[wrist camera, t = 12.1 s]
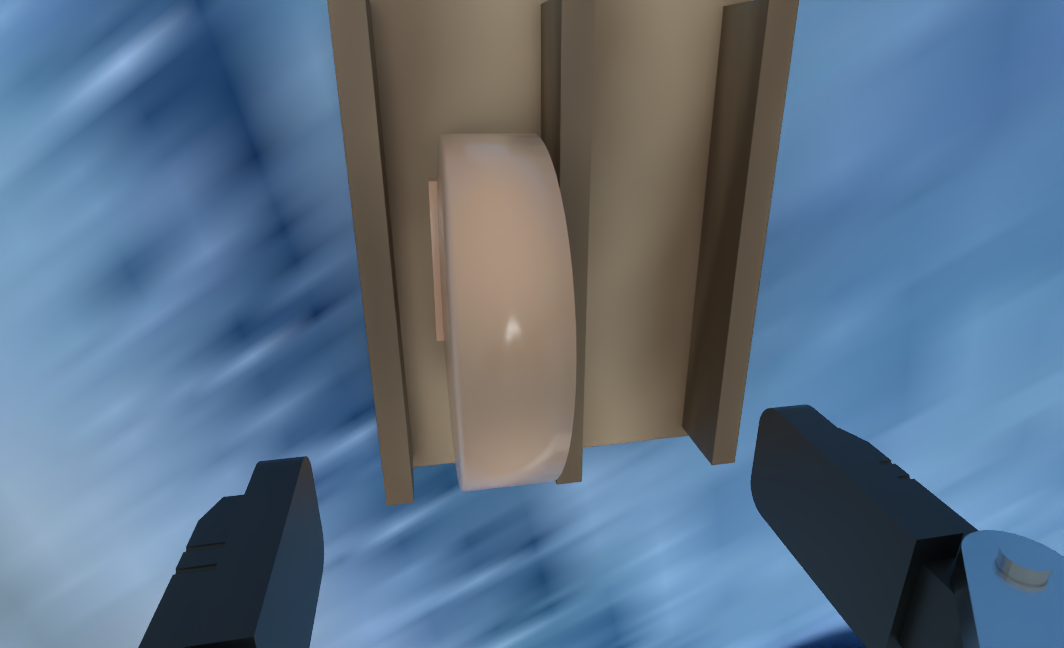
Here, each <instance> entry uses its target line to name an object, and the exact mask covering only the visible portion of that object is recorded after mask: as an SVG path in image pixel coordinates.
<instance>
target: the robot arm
mask: <svg viewBox="0 0 1064 648" xmlns="http://www.w3.org/2000/svg"><path fill="white" fill-rule="evenodd" d="M751 491H752V496H753V500H754V503H755V505H756V508H757V510H758V511H759V513H760V514H761V516H762V517H763V518H764V520H765V521H766V522H767V523H768V525H769V526H770V527H771V528H772V530H773V531H774V532H775V533H776V535H777V536H778V537H779V538H780V540H781V541H782V542H783V543H784V545H785V546H786V547H787V549H788V550H789V551H790V552H791V554H792V555H793V556H794V557H795V559H796V560H797V561H798V562H799V564H800V565H801V566H802V567H803V569H804V570H805V571H806V572H807V574H808V575H809V576H810V578H811V579H812V580H813V581H814V583H815V584H816V585H817V586H818V588H819V589H820V590H821V591H822V593H823V594H824V595H825V596H826V598H827V599H828V600H829V601H830V603H831V604H832V605H833V607H834V608H835V609H836V610H837V612H838V613H839V614H840V615H841V617H842V618H843V619H844V620H845V622H846V623H847V624H848V625H849V627H850V628H851V629H852V630H853V632H854V633H855V634H856V636H857V637H858V638H859V639H860V641H861V642H862V643H863V644H864V646H865V647H866V648H1064V556H1062V555H1060V554H1059V553H1057V552H1056V551H1054V550H1052V549H1050V548H1049V547H1047V546H1045V545H1043V544H1041V543H1038V542H1036V541H1034V540H1031V539H1028V538H1026V537H1023V536H1020V535H1016V534H1013V533H1008V532H1003V531H995V530H983V531H978V530H977V529H976V528H974V527H973V526H972V525H971V524H970V523H968V522H967V521H966V520H965V519H963V518H962V517H961V516H960V515H958V514H957V513H956V512H955V511H953V510H952V509H951V508H950V507H948V506H947V505H946V504H945V503H943V502H942V501H941V500H940V499H938V498H937V497H936V496H935V495H934V494H932V493H931V492H930V491H929V490H927V489H926V488H925V487H924V486H922V485H921V484H920V483H919V482H917V481H916V480H915V479H910V477H909V474H907V473H906V472H905V471H904V470H902V469H901V468H900V467H899V466H898V465H896V464H892V463H891V460H890V459H889V458H888V457H886V456H885V455H884V454H883V453H881V452H880V451H879V450H878V449H876V448H875V447H874V446H873V445H871V444H870V443H869V442H867V441H865V440H863V439H861V438H859V437H857V436H855V435H853V434H851V433H849V432H846V431H844V430H842V429H840V428H837V427H836V426H835V425H833V424H832V423H831V422H830V421H829V420H827V419H826V418H825V417H824V416H823V415H821V414H820V413H819V412H818V411H817V410H815V409H814V408H813V407H811V406H809V405H796V406H787V407H777V408H769V409H766V410H765V411H764V412H763V413H762V415H761V417H760V421H759V427H758V434H757V441H756V447H755V454H754V461H753V468H752V474H751ZM323 564H324V542H323V532H322V526H321V520H320V514H319V508H318V502H317V496H316V491H315V485H314V479H313V473H312V468H311V464H310V461H309V458H308V457H306V456H305V457H296V458H286V459H277V460H267V461H259V462H258V463H257V465H256V467H255V469H254V472H253V474H252V477H251V479H250V482H249V484H248V487H247V489H246V492H245V494H244V495H237V496H228V497H223V498H222V499H221V500H220V501H219V502H218V503H217V504H216V505H215V506H213V507H212V508H211V509H210V510H209V511H208V512H207V513H206V514H205V515H204V516H203V517H202V518H201V519H200V520H199V521H198V523H197V525H196V527H195V529H194V532H193V534H192V536H191V538H190V540H189V542H188V544H187V546H186V552H184V553H183V555H182V557H181V559H180V561H179V563H178V565H177V567H176V574H175V575H173V576H172V578H171V580H170V582H169V584H168V586H167V588H166V591H165V593H164V595H163V597H162V599H161V601H160V603H159V605H158V607H157V609H156V612H155V614H154V616H153V618H152V620H151V622H150V624H149V626H148V628H147V631H146V633H145V635H144V637H143V639H142V641H141V643H140V645H139V647H138V648H309V646H310V641H311V635H312V630H313V624H314V618H315V613H316V607H317V601H318V596H319V590H320V584H321V579H322V573H323Z"/></svg>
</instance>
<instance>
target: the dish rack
mask: <svg viewBox="0 0 1064 648" xmlns="http://www.w3.org/2000/svg"><path fill="white" fill-rule="evenodd" d="M327 2H328V11H329V19H330V28H331V36H332V45H333V53H334V62H335V70H336V79H337V87H338V96H339V104H340V113H341V121H342V130H343V138H344V147H345V155H346V164H347V172H348V181H349V190H350V198H351V207H352V215H353V224H354V232H355V241H356V249H357V258H358V266H359V275H360V283H361V292H362V300H363V309H364V317H365V326H366V334H367V343H368V351H369V360H370V368H371V377H372V385H373V394H374V402H375V411H376V419H377V428H378V436H379V445H380V453H381V462H382V471H383V479H384V488H385V496H386V505H387V506H389V505H397V504H405V503H413V502H414V485H413V467H419V466H428V465H437V464H445V463H454V462H455V456H454V447H453V438H452V429H451V419H450V408H449V397H448V386H447V373H446V360H445V346H444V341H437V340H436V326H435V307H434V288H433V269H432V250H431V231H430V212H429V193H428V179H437V149H438V138H439V134H461V133H535V134H537V135H538V136H539V137H540V138H541V139H542V141H543V142H544V144H545V146H546V148H547V150H548V152H549V155H550V157H551V160H552V163H553V166H554V169H555V172H556V176H557V180H558V184H559V188H560V192H561V197H562V202H563V207H564V213H565V218H566V225H567V231H568V238H569V246H570V254H571V263H572V273H573V285H574V298H575V317H576V359H577V360H576V394H575V410H574V420H573V429H572V436H571V442H570V447H569V452H568V456H567V460H566V464H565V466H564V469H563V471H562V473H561V475H560V476H559V478H558V479H557V480H555V481H556V484H565V483H573V482H581V481H582V450H583V448H584V447H593V446H601V445H610V444H619V443H628V442H636V441H645V440H654V439H662V438H671V437H680V436H688V435H689V437H690V438H691V439H692V440H693V442H694V443H695V444H696V445H697V447H698V448H699V449H700V451H701V452H702V453H703V454H704V456H705V457H706V458H707V460H708V461H709V462H710V463H711V465H717V464H725V463H733V462H735V456H736V449H737V442H738V434H739V427H740V420H741V413H742V406H743V399H744V391H745V384H746V377H747V370H748V363H749V356H750V348H751V341H752V334H753V327H754V320H755V313H756V305H757V298H758V291H759V284H760V277H761V270H762V262H763V255H764V248H765V241H766V234H767V227H768V219H769V212H770V205H771V198H772V191H773V184H774V176H775V169H776V162H777V155H778V148H779V141H780V133H781V126H782V119H783V112H784V105H785V98H786V90H787V83H788V76H789V69H790V62H791V55H792V47H793V40H794V33H795V26H796V19H797V12H798V4H799V0H752V1H751V0H327Z"/></svg>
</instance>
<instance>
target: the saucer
mask: <svg viewBox="0 0 1064 648" xmlns="http://www.w3.org/2000/svg"><path fill="white" fill-rule="evenodd" d="M428 193H429V212H430V231H431V250H432V269H433V288H434V307H435V326H436V340H437V341H444V346H445V360H446V373H447V386H448V397H449V408H450V419H451V429H452V438H453V447H454V456H455V463H456V470H457V476H458V482H459V486H460V489H461V491H462V492H464V491H473V490H482V489H492V488H501V487H510V486H519V485H528V484H537V483H546V482H553V481H555V480H557V479H558V478H559V476H560V475H561V473H562V471H563V469H564V466H565V464H566V460H567V456H568V452H569V447H570V442H571V436H572V429H573V420H574V410H575V394H576V360H577V359H576V317H575V298H574V285H573V273H572V263H571V254H570V246H569V238H568V231H567V225H566V218H565V213H564V207H563V202H562V197H561V192H560V188H559V184H558V180H557V176H556V172H555V169H554V166H553V163H552V160H551V157H550V155H549V152H548V150H547V148H546V146H545V144H544V142H543V141H542V139H541V138H540V137H539V136H538V135H537V134H535V133H461V134H439V138H438V149H437V179H428Z"/></svg>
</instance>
